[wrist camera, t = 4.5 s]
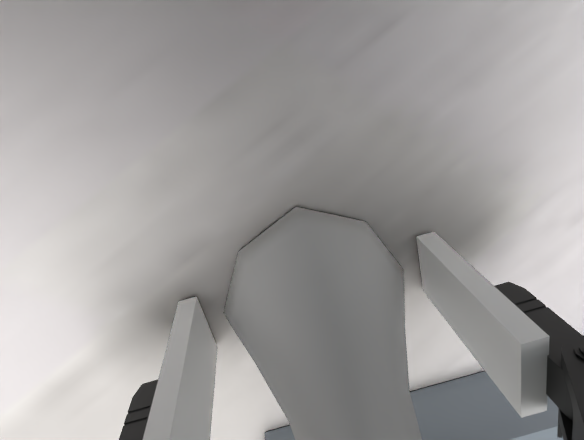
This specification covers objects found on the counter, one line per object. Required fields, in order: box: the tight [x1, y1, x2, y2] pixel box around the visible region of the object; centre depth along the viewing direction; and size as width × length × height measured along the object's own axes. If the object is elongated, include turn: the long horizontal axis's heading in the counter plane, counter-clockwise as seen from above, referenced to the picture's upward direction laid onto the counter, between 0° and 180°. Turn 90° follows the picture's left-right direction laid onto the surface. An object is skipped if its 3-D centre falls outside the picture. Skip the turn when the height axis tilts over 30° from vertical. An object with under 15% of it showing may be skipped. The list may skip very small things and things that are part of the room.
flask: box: [224, 207, 422, 440], centre depth 12 cm, size 7×7×10 cm
